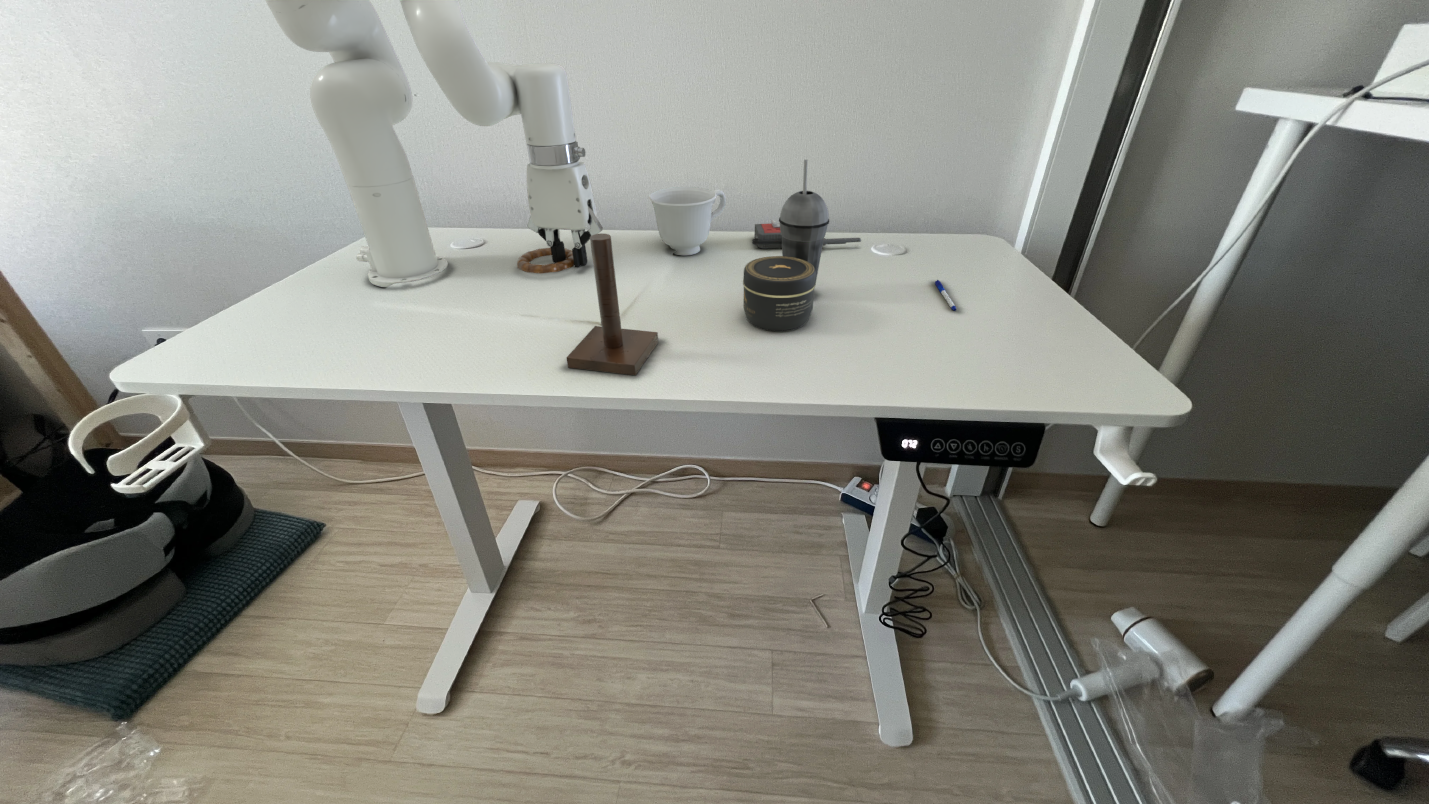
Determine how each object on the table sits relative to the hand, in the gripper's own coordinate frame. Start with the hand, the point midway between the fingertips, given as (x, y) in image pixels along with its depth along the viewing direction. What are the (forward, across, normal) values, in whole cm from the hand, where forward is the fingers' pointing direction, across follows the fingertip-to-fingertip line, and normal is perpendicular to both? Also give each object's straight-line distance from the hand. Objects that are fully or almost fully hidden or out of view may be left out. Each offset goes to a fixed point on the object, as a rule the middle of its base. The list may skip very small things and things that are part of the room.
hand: (570, 266), depth 101 cm
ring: (-1, +4, 0) cm, 4 cm away
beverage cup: (+1, -40, +3) cm, 40 cm away
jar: (+1, -38, +12) cm, 40 cm away
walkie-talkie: (+1, -38, -21) cm, 43 cm away
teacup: (+1, -18, -14) cm, 23 cm away
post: (0, -19, +27) cm, 33 cm away
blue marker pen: (+1, -62, -1) cm, 62 cm away
